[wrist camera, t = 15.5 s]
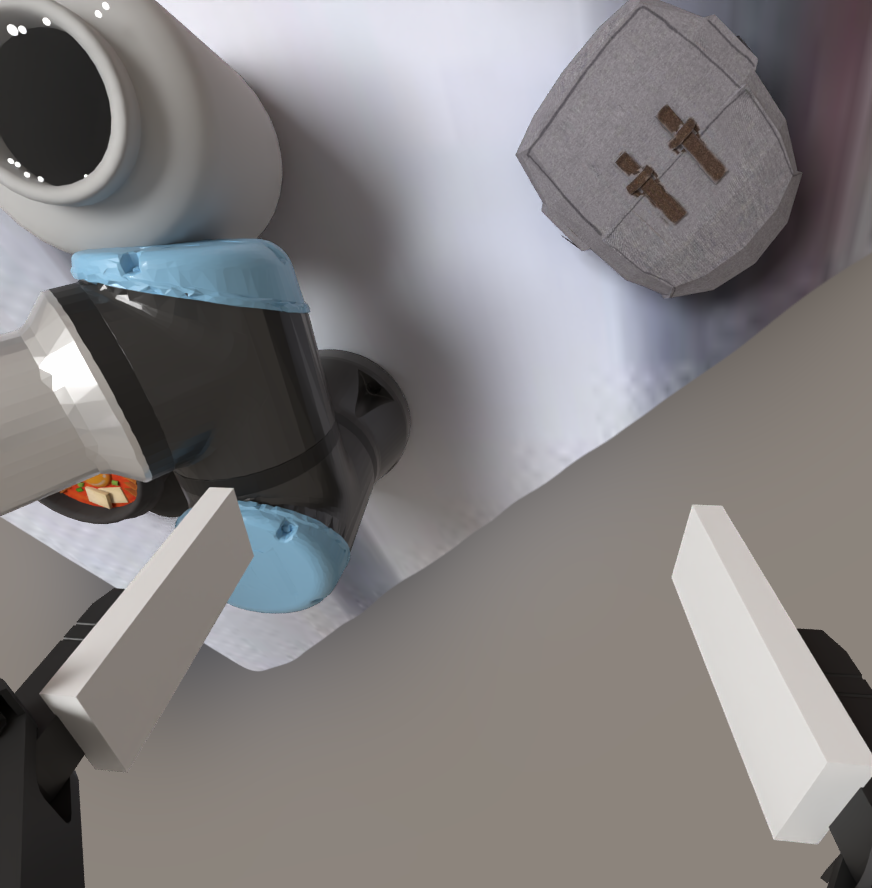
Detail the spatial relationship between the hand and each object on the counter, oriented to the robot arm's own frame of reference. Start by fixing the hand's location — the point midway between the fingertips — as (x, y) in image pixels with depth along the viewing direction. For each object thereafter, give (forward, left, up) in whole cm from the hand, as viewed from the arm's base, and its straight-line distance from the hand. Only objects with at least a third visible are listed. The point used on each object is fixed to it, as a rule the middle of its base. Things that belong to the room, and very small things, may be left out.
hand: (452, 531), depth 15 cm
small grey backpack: (+7, -13, -35) cm, 38 cm away
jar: (+7, +25, -33) cm, 42 cm away
